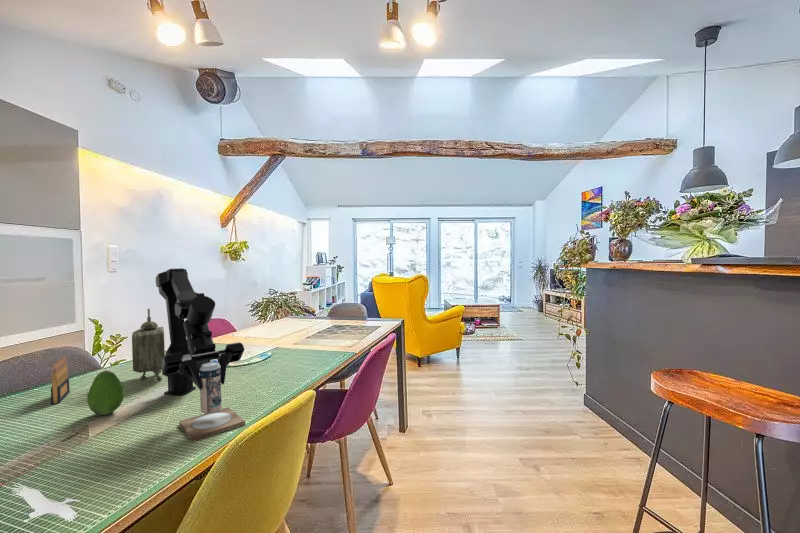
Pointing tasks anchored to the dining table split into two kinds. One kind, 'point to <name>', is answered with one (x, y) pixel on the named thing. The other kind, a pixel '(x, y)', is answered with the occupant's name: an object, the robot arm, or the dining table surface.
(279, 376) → the dining table surface
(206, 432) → the plate
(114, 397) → the avocado
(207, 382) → the beer can
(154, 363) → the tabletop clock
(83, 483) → the dining table surface
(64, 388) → the ammunition clip
